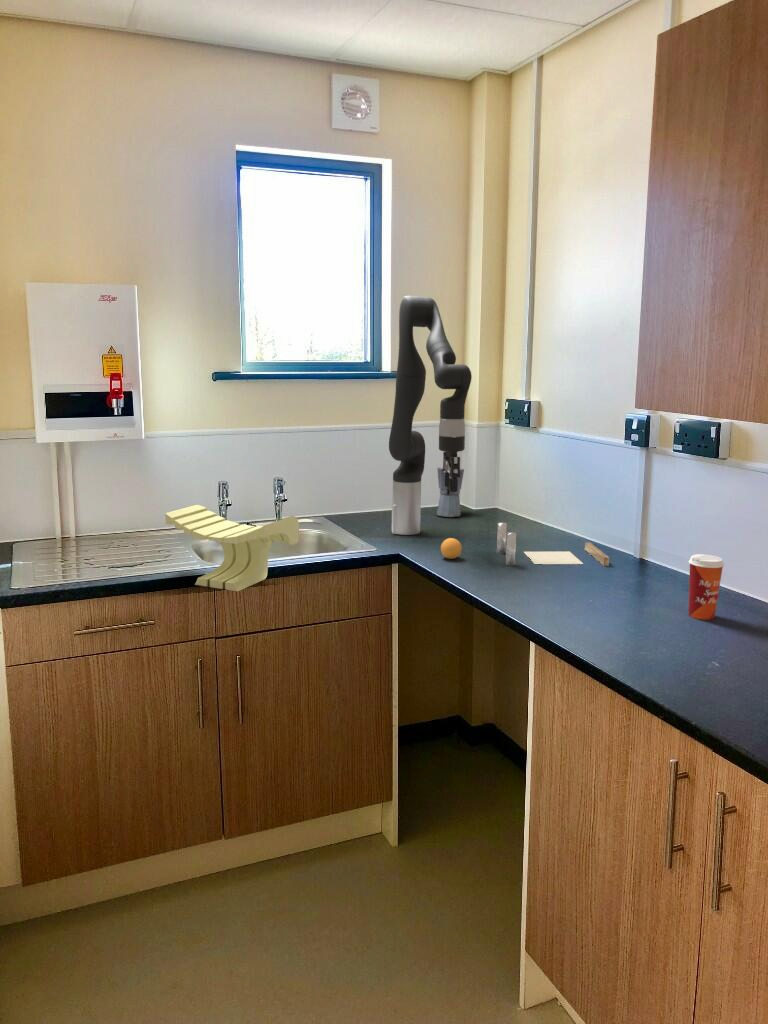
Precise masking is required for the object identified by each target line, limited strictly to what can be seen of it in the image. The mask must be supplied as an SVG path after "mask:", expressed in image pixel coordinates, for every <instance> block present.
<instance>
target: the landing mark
mask: <svg viewBox="0 0 768 1024" xmlns="http://www.w3.org/2000/svg"><path fill="white" fill-rule="evenodd" d="M523 553H524V554H525V555H526V556H527V558H528V557H529V558H530V559H531V560H530V559H529V558H528V559H529V560H530V561H531V562H532V563H533V564H534V565H535V564H542V565H584V563H583V562H582V561H581V560H580V559H579V558H578V557H577V556H575V555H574V554H573V553H572V552H571V550H570V551H523Z"/></svg>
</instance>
